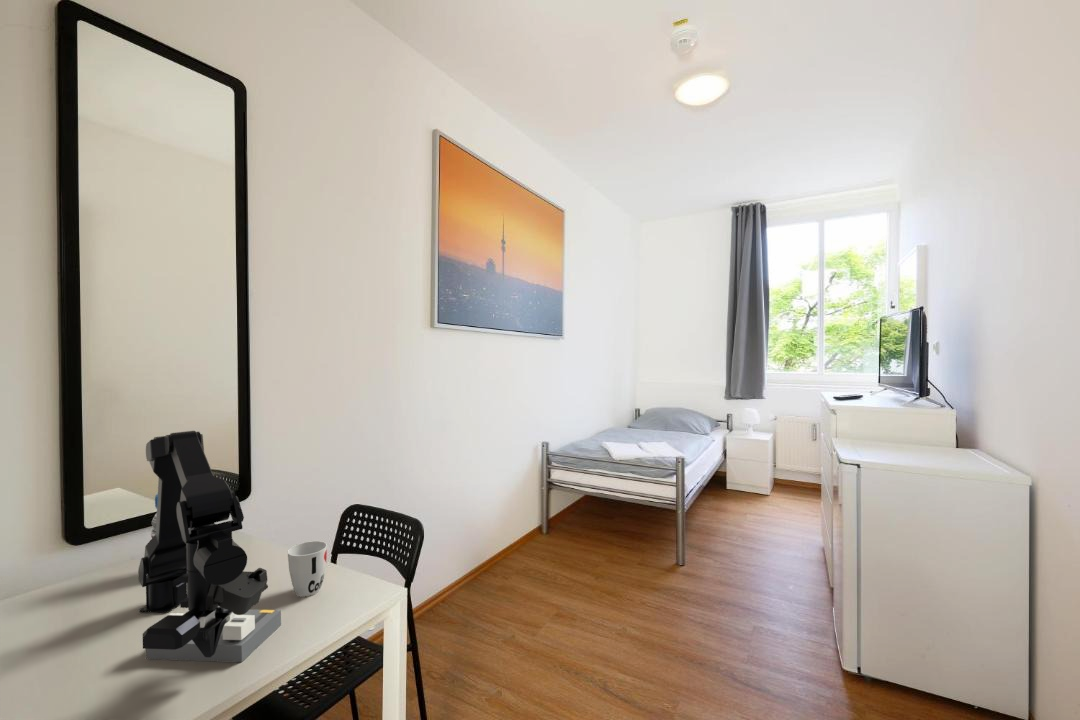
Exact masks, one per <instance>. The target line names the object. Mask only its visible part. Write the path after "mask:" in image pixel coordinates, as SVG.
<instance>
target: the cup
mask: <svg viewBox="0 0 1080 720" xmlns="http://www.w3.org/2000/svg"><path fill="white" fill-rule="evenodd" d="M327 554H328V544H327V542H325V541H322V540H311V541H304V542H302V543H301V542H300V543H299V544H296V545H293V546H291V547H290V548H289V549H288V550H287V560H288V570H289V572H288V573H289V575H290V581H291V585H292V587H293V590H294V593H295V594H296V596H297V597H299V596H300V597H299V598H306V597H305V596H307V597H311V596H314V595H316V594H317V592H318V591H319V590H321V589H322V585H323V582H324V579H325V573H326V567H327V556H328V555H327ZM319 592H320V591H319ZM319 592H318V593H319ZM315 593H316V594H315ZM313 594H314V595H313ZM310 595H311V596H310Z"/></svg>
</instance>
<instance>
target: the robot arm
mask: <svg viewBox="0 0 1080 720" xmlns="http://www.w3.org/2000/svg"><path fill="white" fill-rule="evenodd" d="M145 458H146V461H147V462H149V464H150V466H151V468H152V471H153V473H154V474H155V475H156V476H157V477H158V484H157V485H158V486H157V494H158V500H157V509H156V513H157V519H156V534H155V536H154V537H153V538H152V537H151V539H149V541H148V543H147V544H146V545H145V547H144V555H143V556H144V557H141V558H140V562H139V566H138V571H137V572H138V581H139V584H140V585H141V587H142V588H145V601H146V602H145V603H146V605H145V606H143V607H140V609H138V610H139V611H138V612H139V613H152V614H153V613H158V614H160V613H161V614H164V613H165V614H166V613H167V615H165V616H164V617H162V618H163V619H162V618H161V619H159V620H160V621H159V620H158V621H157V623H156V622H155V623H153V624H152V625H150V626H149V627H148V628H147V629H146V630H145V631H144V632H143V633H142V650H143V649H144V650H146V649H171V650H176V649H179V648H181V647H183V646H184V645H186V644H187V643H188V642H190V641H191V640H192V641H193V642H194V643H195V644H196V646H197V647H198V648H199V650H200V651H201V652H202V654H203V655H204V656H205V657H209V658H210V657H212V656H213V655H214V654H215V651H216V648H217V645H218V642H219V639H220V636H221V633H222V630H223V627H224V625H225V622H226V620H227V618H228V616H230V615H231V614H232V613H234V614H236V615H243V614H245V613H246V612H248V610H249V609H250V610H251V609H252V608H253V607H254V606H256V605H257V604H258V603H259V602H260V599H261V596H262V593H263V592H264V591H266V590H268V587H269V586H268V574H267V572H268V571H267V569H264V568H261V567H259V568H257V569H255V570H254V571H245V568H246V567H247V563H248V555H247V553H246V551H245V549H244V548H243V547H241V546H240V545H239V544H238V543H237V542H235V541H234V539H233V532H236V531H240V530H242V529H243V523H242V522H244V518H245V517H244V514H243V513H244V512H243V510H242V506H241V503H240V499H239V497H238V496H237V495H236V492H235V491H234V490H231V488H230V486H229V484H228V483H227V481H226V480H225V479H224V478H223V479H222V478H221V477H217V476H215V475H214V473H213V471H212V468H211V466H210V464H209V461H208V458H207V457H206V454H205V447H204V435H203V433H201V432H200V431H195V430H186V431H179V432H178V431H177V432H171V433H170V434H165V436H164V435H162V436H154V437H153V438H152V439H150V440H149V441H148V442H147V443H146V444H145ZM230 518H231V520H229V519H230ZM219 522H220V523H219ZM179 606H180V607H179ZM177 607H179V608H181V609H182V608H183V609H184V608H186V609H187V610H188V611H187V612H185V614H184V615H182V616H181V615H169V614H168V613H169V612H171V611H172V610H174V609H176V608H177Z"/></svg>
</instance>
